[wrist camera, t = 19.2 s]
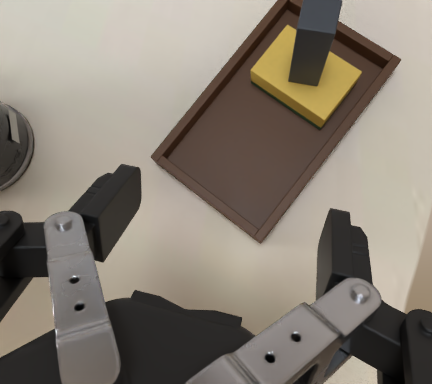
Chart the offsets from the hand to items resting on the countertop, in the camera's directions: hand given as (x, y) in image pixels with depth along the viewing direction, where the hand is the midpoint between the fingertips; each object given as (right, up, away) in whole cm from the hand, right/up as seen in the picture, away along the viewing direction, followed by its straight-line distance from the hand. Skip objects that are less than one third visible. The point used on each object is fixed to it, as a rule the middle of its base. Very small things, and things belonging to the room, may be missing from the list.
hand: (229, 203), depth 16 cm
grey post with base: (+8, +11, +20) cm, 24 cm away
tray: (+5, +8, +21) cm, 23 cm away
